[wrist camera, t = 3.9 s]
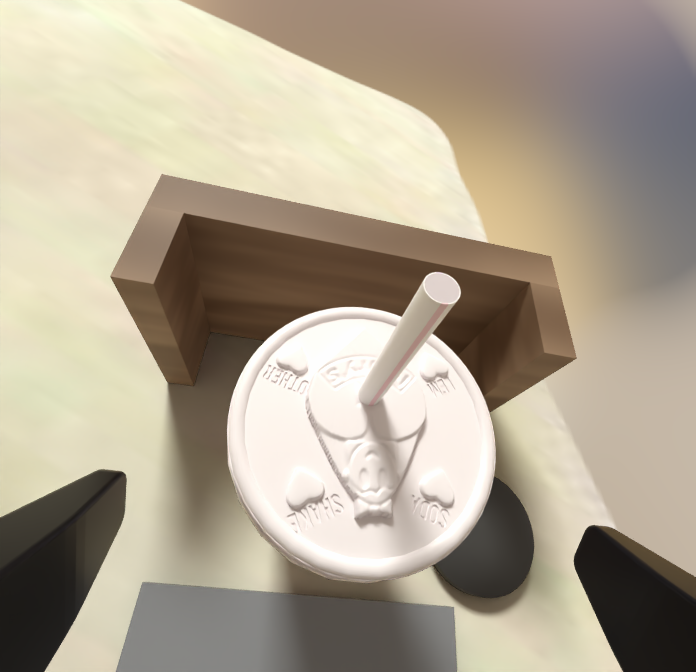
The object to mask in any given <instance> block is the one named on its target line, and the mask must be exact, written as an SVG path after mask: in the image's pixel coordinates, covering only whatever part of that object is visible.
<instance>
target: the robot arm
mask: <svg viewBox="0 0 696 672" xmlns="http://www.w3.org/2000/svg"><path fill="white" fill-rule="evenodd" d="M126 482H127V478H126V474H125V473H124V472H122V471H114V470H105V469H101V470H97V471H95V472H93V473H91V474H89V475H87V476H85V477H83V478H81V479H78V480H76V481H74V482H72V483H70V484H68V485H66V486H64V487H62V488H60V489H58V490H56V491H54V492H52V493H50V494H48V495H46V496H44V497H41V498H39V499H37V500H35V501H33V502H31V503H29V504H27V505H25V506H23V507H21V508H19V509H17V510H15V511H13V512H11V513H9V514H7V515H5V516H2V517H0V672H44V671H45V670H46V668H47V666H48V665H49V663H50V661H51V660H52V658H53V656H54V655H55V653H56V651H57V650H58V648H59V646H60V645H61V643H62V641H63V640H64V638H65V636H66V635H67V633H68V631H69V629H70V628H71V626H72V624H73V622H74V621H75V619H76V617H77V615H78V613H79V611H80V609H81V607H82V605H83V603H84V601H85V599H86V597H87V595H88V593H89V591H90V588H91V586H92V584H93V582H94V580H95V578H96V576H97V574H98V572H99V570H100V568H101V566H102V564H103V562H104V559H105V557H106V555H107V553H108V551H109V549H110V547H111V545H112V543H113V541H114V539H115V537H116V535H117V532H118V530H119V528H120V526H121V524H122V521H123V518H124V513H125V501H126ZM574 566H575V570H576V572H577V574H578V577H579V579H580V581H581V583H582V585H583V588H584V590H585V592H586V594H587V596H588V599H589V601H590V603H591V605H592V608H593V610H594V612H595V614H596V616H597V619H598V621H599V623H600V625H601V627H602V630H603V632H604V634H605V636H606V638H607V641H608V643H609V645H610V647H611V649H612V651H613V653H614V655H615V657H616V659H617V661H618V663H619V665H620V667H621V669H622V671H623V672H696V577H694V576H693V575H691V574H689V573H687V572H686V571H684V570H683V569H681V568H679V567H677V566H676V565H674V564H672V563H671V562H669V561H667V560H666V559H664V558H662V557H661V556H659V555H657V554H656V553H654V552H652V551H651V550H649V549H647V548H645V547H644V546H642V545H640V544H639V543H637V542H635V541H634V540H632V539H630V538H628V537H627V536H625V535H623V534H622V533H620V532H618V531H617V530H615V529H613V528H610V527H606V526H597V525H592V526H589V527H588V528H587V529H586V530H585V532H584V535H583V537H582V539H581V542H580V544H579V546H578V549H577V551H576V553H575V556H574Z"/></svg>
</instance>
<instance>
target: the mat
mask: <svg viewBox="0 0 696 672" xmlns="http://www.w3.org/2000/svg"><path fill="white" fill-rule="evenodd" d="M116 672H457V661H456V641H455V621H454V607H448V606H436V605H423V604H411V603H399V602H386V601H374V600H361V599H349V598H336V597H324V596H312V595H299V594H287V593H274V592H262V591H249V590H237V589H225V588H212V587H200V586H187V585H175V584H162V583H150V582H143V583H142V585H141V589H140V592H139V595H138V599H137V602H136V606H135V609H134V612H133V616H132V619H131V622H130V626H129V629H128V633H127V636H126V639H125V643H124V646H123V649H122V653H121V656H120V659H119V663H118V666H117V670H116Z"/></svg>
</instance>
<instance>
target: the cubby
mask: <svg viewBox="0 0 696 672" xmlns="http://www.w3.org/2000/svg"><path fill="white" fill-rule="evenodd" d="M434 272H441V273H444V274H447V275H449V276H451V277H452V278H453V279H454V280H455V281H456V282H457V283H458V285H459V287H460V291H461V294H460V298H459V299H458V301H457V302H456V303H455V304H454V306H453V307H452V308H451V310H450V311H449V312H448V313H447V315H446V316H445V317H444V319H443V320H442V321H441V323H440V324H439V325H438V326H437V328H436V329H435V330H434V332H433V333H432V334H433V335H435V336H436V337H437V338H439V339H440V340H441V341H442V342H444V343H445V344H446V345H447V346H448V347H449V348H450V349H451V350H452V351H453V352H454V353H455V354H456V355H457V356H458V357H459V359H460V360H461V361H462V362H463V364H464V365H465V366H466V367H467V369H468V370H469V372H470V373H471V375H472V376H473V378H474V379H475V381H476V383H477V385H478V387H479V388H480V391H481V393H482V395H483V397H484V399H485V402H486V405H487V408H488V410H489V413H490V412H491V411H493V410H495V409H496V408H498V407H499V406H501V405H503V404H504V403H506V402H507V401H509V400H511V399H512V398H514V397H516V396H517V395H519V394H520V393H522V392H524V391H525V390H527V389H528V388H530V387H532V386H533V385H535V384H536V383H538V382H540V381H541V380H543V379H544V378H546V377H548V376H549V375H551V374H552V373H554V372H556V371H557V370H559V369H560V368H562V367H564V366H565V365H567V364H568V363H570V362H572V361H573V360H575V359H576V354H575V350H574V346H573V342H572V338H571V334H570V330H569V326H568V322H567V318H566V314H565V310H564V306H563V302H562V298H561V294H560V290H559V286H558V282H557V278H556V274H555V270H554V266H553V262H552V258H551V256H546V255H542V254H537V253H532V252H527V251H523V250H518V249H513V248H509V247H504V246H499V245H494V244H490V243H485V242H480V241H476V240H471V239H466V238H461V237H457V236H452V235H447V234H442V233H438V232H433V231H428V230H423V229H419V228H414V227H409V226H405V225H400V224H395V223H390V222H386V221H381V220H376V219H371V218H367V217H362V216H357V215H352V214H348V213H343V212H338V211H334V210H329V209H324V208H319V207H315V206H310V205H305V204H300V203H296V202H291V201H286V200H282V199H277V198H272V197H267V196H263V195H258V194H253V193H248V192H244V191H239V190H234V189H229V188H225V187H220V186H215V185H211V184H206V183H201V182H196V181H192V180H187V179H182V178H177V177H173V176H168V175H163V174H162V175H161V177H160V179H159V181H158V183H157V185H156V187H155V189H154V191H153V193H152V195H151V197H150V199H149V201H148V203H147V205H146V207H145V209H144V211H143V212H142V214H141V216H140V218H139V220H138V222H137V224H136V226H135V228H134V230H133V232H132V234H131V236H130V238H129V240H128V242H127V244H126V246H125V248H124V250H123V252H122V254H121V256H120V258H119V260H118V262H117V264H116V266H115V268H114V270H113V272H112V274H111V276H110V277H111V279H112V281H113V282H114V284H115V286H116V288H117V290H118V292H119V294H120V295H121V297H122V299H123V301H124V303H125V305H126V307H127V308H128V310H129V312H130V314H131V316H132V318H133V320H134V321H135V323H136V325H137V327H138V329H139V331H140V333H141V334H142V336H143V338H144V340H145V342H146V344H147V346H148V347H149V349H150V351H151V353H152V355H153V357H154V359H155V360H156V362H157V364H158V366H159V368H160V370H161V371H162V373H163V375H164V377H165V379H166V381H167V382H169V383H176V384H183V385H190V386H194V384H195V380H196V377H197V374H198V370H199V367H200V364H201V361H202V357H203V354H204V351H205V348H206V344H207V341H208V338H209V335H210V332H214V333H221V334H227V335H233V336H239V337H245V338H251V339H257V340H263V341H266V340H267V339H268V338H269V337H270V336H272V335H273V334H274V333H275V332H277V331H278V330H279V329H281V328H282V327H284V326H285V325H287V324H289V323H291V322H293V321H294V320H296V319H298V318H301V317H303V316H306V315H308V314H311V313H314V312H318V311H322V310H326V309H332V308H340V307H362V308H370V309H376V310H381V311H385V312H389V313H392V314H395V315H398V316H400V317H402V316H403V314H404V313H405V311H406V309H407V307H408V306H409V304H410V302H411V301H412V299H413V297H414V296H415V294H416V292H417V291H418V289H419V287H420V286H421V284H422V282H423V280H424V279H425V277H426V276H427V275H428V274H430V273H434Z"/></svg>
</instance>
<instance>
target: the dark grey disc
mask: <svg viewBox="0 0 696 672" xmlns="http://www.w3.org/2000/svg"><path fill="white" fill-rule="evenodd" d="M533 553H534V539H533V532H532V528H531V524H530V521H529V518H528V515H527V513H526V511H525V509H524V507H523V505H522V504H521V502H520V500H519V499H518V498H517V496H516V495H515V494H514V493H513V491H512V490H511V489H510V488H509V487H508V486H507V485H505V484H504V483H503V482H502V481H500V480H499V479H497V478H496V477H494V478H493V483H492V488H491V491H490V494H489V498H488V501H487V503H486V505H485V508H484V510H483V512H482V514H481V516H480V518H479V520H478V521H477V523H476V525H475V526H474V528H473V529H472V531H471V532H470V533H469V535H468V536H467V537H466V538H465V539H464V541H463V542H462V543H461V544H460V545H459V546H458V547H457V548H456V549H455V550H453V551H452V552H451V553H450V554H449V555H448V556H446V557H445V558H443V559H442V560H440V561H439V562H437V563H436V564H434V566H435V567H436V569H437V570H438V572H439V573H440V574H441V575H442V576H443V577H444V578H445V579H446V580H447V581H448V582H449V583H450V584H451V585H452V586H454V587H455V588H457V589H459V590H460V591H462V592H465V593H467V594H470V595H474V596H478V597H484V598H497V597H501V596H505V595H507V594H509V593H511V592H512V591H514V590H515V589H517V588H518V587H519V586H520V585H521V584H522V582H523V581H524V579H525V578H526V576H527V574H528V572H529V570H530V567H531V564H532V560H533Z"/></svg>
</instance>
